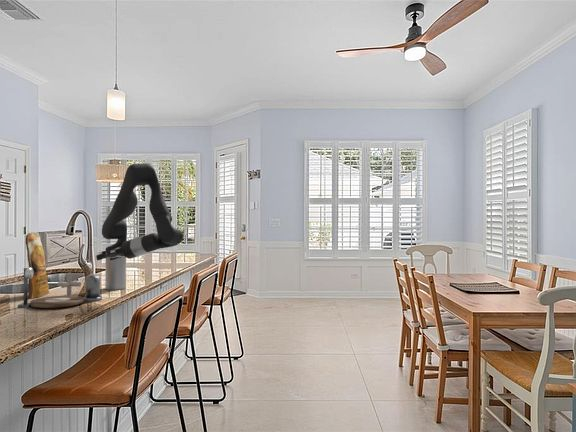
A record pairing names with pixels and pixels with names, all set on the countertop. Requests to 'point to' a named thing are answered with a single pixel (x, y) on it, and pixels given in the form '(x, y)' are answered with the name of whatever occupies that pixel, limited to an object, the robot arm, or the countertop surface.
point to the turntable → (56, 301)
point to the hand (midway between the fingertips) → (103, 258)
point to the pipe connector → (69, 284)
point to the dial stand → (26, 287)
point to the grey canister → (92, 288)
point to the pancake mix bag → (36, 266)
